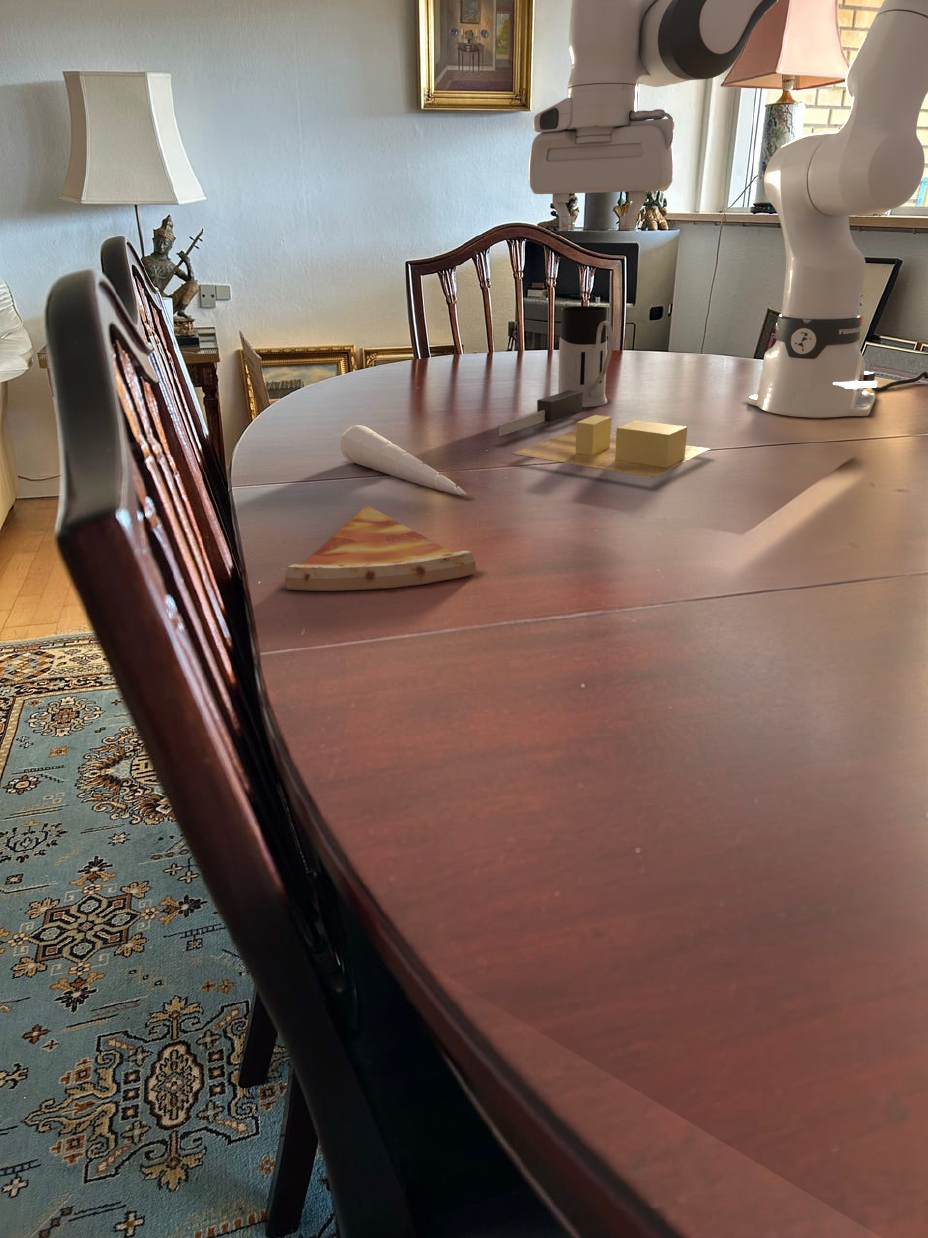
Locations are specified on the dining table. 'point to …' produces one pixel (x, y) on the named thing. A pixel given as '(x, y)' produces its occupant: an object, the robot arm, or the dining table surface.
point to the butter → (650, 443)
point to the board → (597, 456)
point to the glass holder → (585, 352)
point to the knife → (547, 411)
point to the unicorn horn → (391, 459)
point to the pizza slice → (377, 558)
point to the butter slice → (593, 435)
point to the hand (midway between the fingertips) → (596, 230)
